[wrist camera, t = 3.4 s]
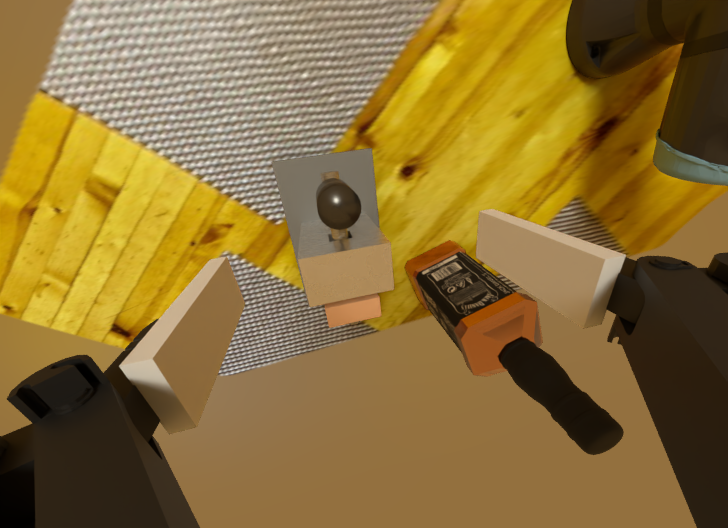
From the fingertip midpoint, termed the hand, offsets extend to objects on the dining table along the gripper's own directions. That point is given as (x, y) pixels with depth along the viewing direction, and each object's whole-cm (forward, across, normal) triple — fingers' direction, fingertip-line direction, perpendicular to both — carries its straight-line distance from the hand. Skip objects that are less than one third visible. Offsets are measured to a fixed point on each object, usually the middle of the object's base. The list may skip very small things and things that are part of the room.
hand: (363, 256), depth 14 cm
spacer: (+22, 0, -14) cm, 26 cm away
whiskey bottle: (+29, +18, -19) cm, 39 cm away
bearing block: (+27, 0, -8) cm, 28 cm away
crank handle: (+19, 0, -8) cm, 21 cm away
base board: (+29, 0, -8) cm, 30 cm away
